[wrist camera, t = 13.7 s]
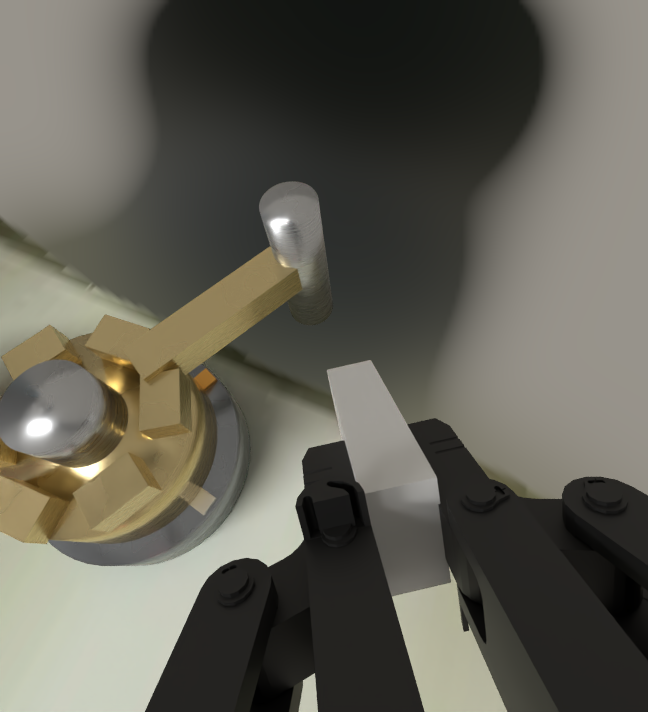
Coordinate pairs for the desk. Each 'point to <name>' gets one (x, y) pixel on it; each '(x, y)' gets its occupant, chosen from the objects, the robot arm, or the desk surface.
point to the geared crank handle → (142, 395)
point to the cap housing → (206, 505)
